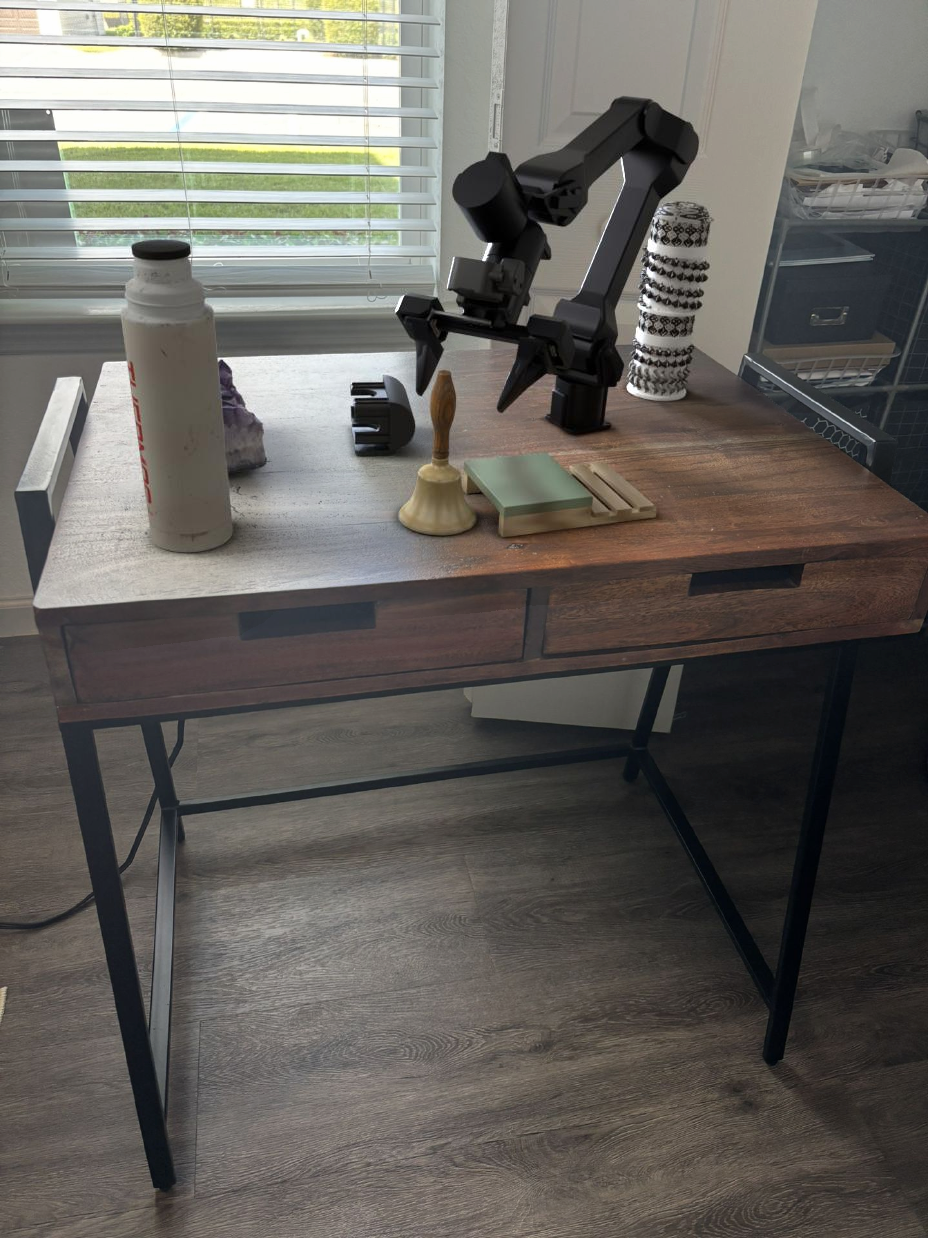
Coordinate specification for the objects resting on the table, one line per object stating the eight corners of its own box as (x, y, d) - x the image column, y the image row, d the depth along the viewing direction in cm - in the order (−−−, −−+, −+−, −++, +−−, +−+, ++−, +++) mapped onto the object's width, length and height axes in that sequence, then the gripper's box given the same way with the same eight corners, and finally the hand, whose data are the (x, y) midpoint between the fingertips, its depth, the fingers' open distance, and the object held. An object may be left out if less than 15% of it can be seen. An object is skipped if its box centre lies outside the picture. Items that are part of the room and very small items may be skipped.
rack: (606, 472, 118) (609, 445, 116) (656, 517, 108) (660, 487, 107) (462, 489, 112) (464, 460, 110) (502, 537, 103) (504, 506, 101)
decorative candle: (610, 386, 144) (633, 200, 130) (655, 375, 149) (682, 196, 135) (656, 406, 138) (685, 213, 124) (701, 394, 143) (734, 208, 129)
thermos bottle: (144, 553, 97) (101, 252, 82) (158, 515, 103) (121, 231, 89) (228, 552, 98) (200, 254, 83) (237, 516, 104) (213, 234, 89)
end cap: (415, 456, 119) (416, 402, 116) (355, 457, 118) (354, 403, 115) (406, 425, 128) (407, 373, 124) (350, 426, 127) (350, 374, 123)
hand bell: (486, 509, 108) (495, 364, 100) (461, 542, 102) (468, 390, 93) (415, 495, 110) (418, 352, 102) (386, 527, 104) (386, 377, 95)
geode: (148, 426, 124) (149, 345, 119) (243, 430, 128) (247, 352, 123) (161, 488, 107) (163, 397, 103) (269, 490, 112) (275, 403, 107)
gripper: (404, 210, 101) (350, 346, 99) (578, 235, 95) (525, 380, 92) (436, 275, 112) (388, 399, 109) (595, 301, 105) (548, 433, 103)
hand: (458, 402), depth 103 cm, fingers open, 9 cm apart
